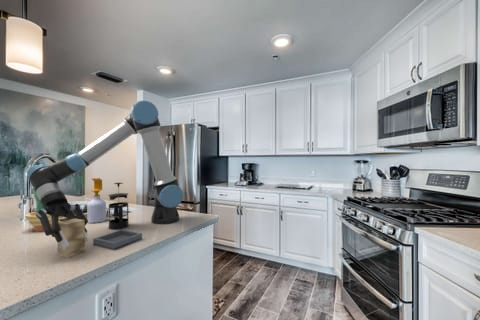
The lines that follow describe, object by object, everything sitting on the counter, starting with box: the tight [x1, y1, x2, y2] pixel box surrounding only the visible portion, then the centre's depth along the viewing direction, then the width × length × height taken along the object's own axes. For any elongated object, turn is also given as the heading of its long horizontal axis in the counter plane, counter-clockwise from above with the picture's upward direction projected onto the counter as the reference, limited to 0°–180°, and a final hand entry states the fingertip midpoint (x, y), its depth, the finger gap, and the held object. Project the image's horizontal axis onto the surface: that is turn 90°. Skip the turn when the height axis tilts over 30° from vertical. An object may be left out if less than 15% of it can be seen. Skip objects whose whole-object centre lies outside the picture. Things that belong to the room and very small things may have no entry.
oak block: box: [56, 218, 86, 259], centre depth 83 cm, size 6×6×12 cm
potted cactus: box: [24, 186, 62, 232], centre depth 114 cm, size 15×15×25 cm
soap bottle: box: [86, 177, 107, 224], centre depth 126 cm, size 9×9×25 cm
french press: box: [107, 182, 130, 231], centre depth 116 cm, size 12×9×23 cm
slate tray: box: [92, 229, 143, 251], centre depth 94 cm, size 13×13×2 cm
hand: (77, 244), depth 82 cm, fingers closed on oak block, 6 cm apart
